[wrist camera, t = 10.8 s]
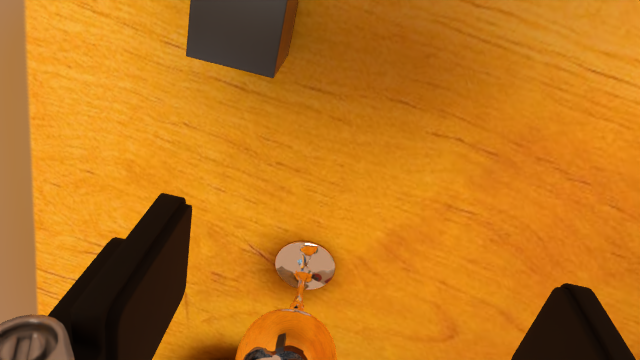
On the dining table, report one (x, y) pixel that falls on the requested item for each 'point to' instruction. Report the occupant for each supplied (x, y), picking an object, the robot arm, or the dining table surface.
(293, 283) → the wineglass
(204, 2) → the block
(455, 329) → the dining table surface
